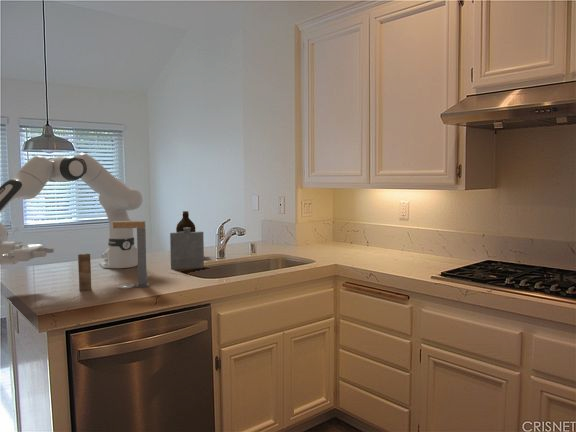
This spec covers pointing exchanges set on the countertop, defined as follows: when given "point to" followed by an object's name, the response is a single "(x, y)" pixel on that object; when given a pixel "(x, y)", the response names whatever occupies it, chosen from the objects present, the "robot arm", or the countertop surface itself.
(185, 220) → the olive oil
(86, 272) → the brown tall wooden block
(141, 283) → the keeper
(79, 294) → the countertop surface
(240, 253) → the countertop surface
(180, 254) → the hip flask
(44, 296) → the countertop surface
